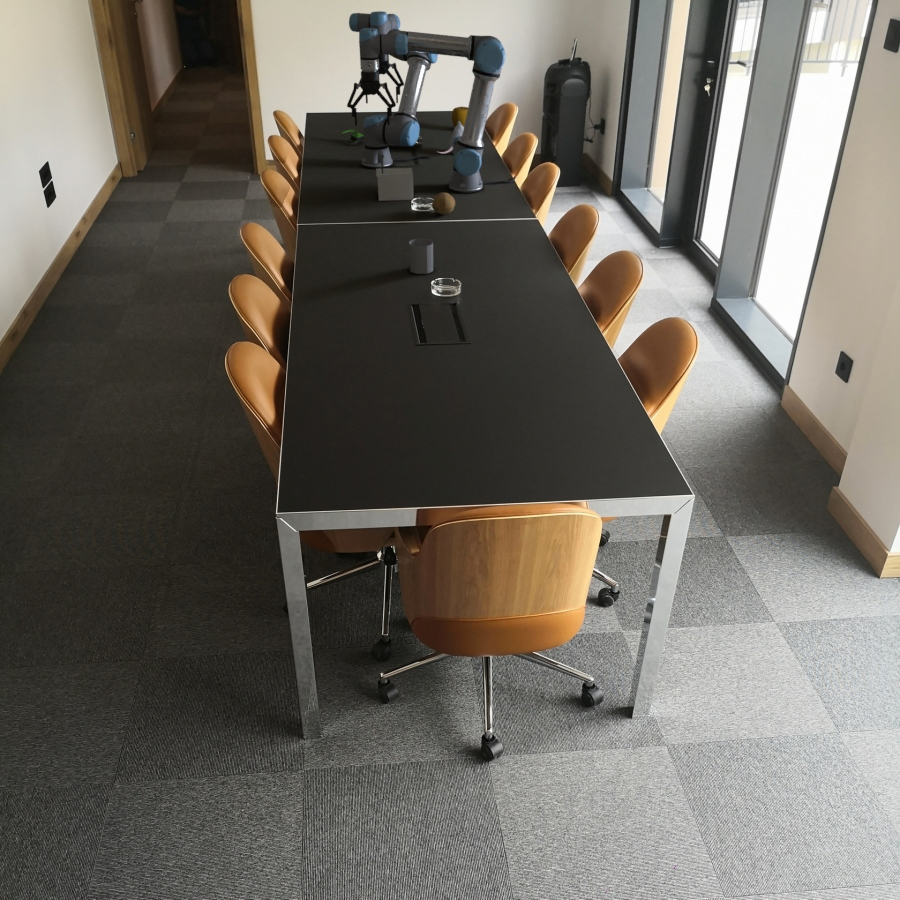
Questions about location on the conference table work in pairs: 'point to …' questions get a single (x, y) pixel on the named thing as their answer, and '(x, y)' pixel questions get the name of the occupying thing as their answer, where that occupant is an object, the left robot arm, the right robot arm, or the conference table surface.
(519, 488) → the conference table surface
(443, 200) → the potato
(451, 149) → the toy
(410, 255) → the cup
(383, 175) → the lid
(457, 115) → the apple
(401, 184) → the chest
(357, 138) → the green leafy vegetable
